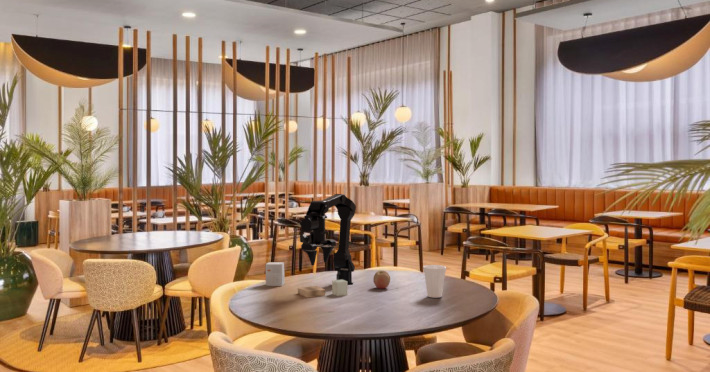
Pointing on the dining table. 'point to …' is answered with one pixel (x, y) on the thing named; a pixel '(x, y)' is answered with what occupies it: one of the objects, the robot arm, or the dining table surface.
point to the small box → (275, 274)
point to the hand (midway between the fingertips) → (319, 263)
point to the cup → (434, 279)
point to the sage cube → (339, 287)
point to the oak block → (311, 291)
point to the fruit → (381, 279)
